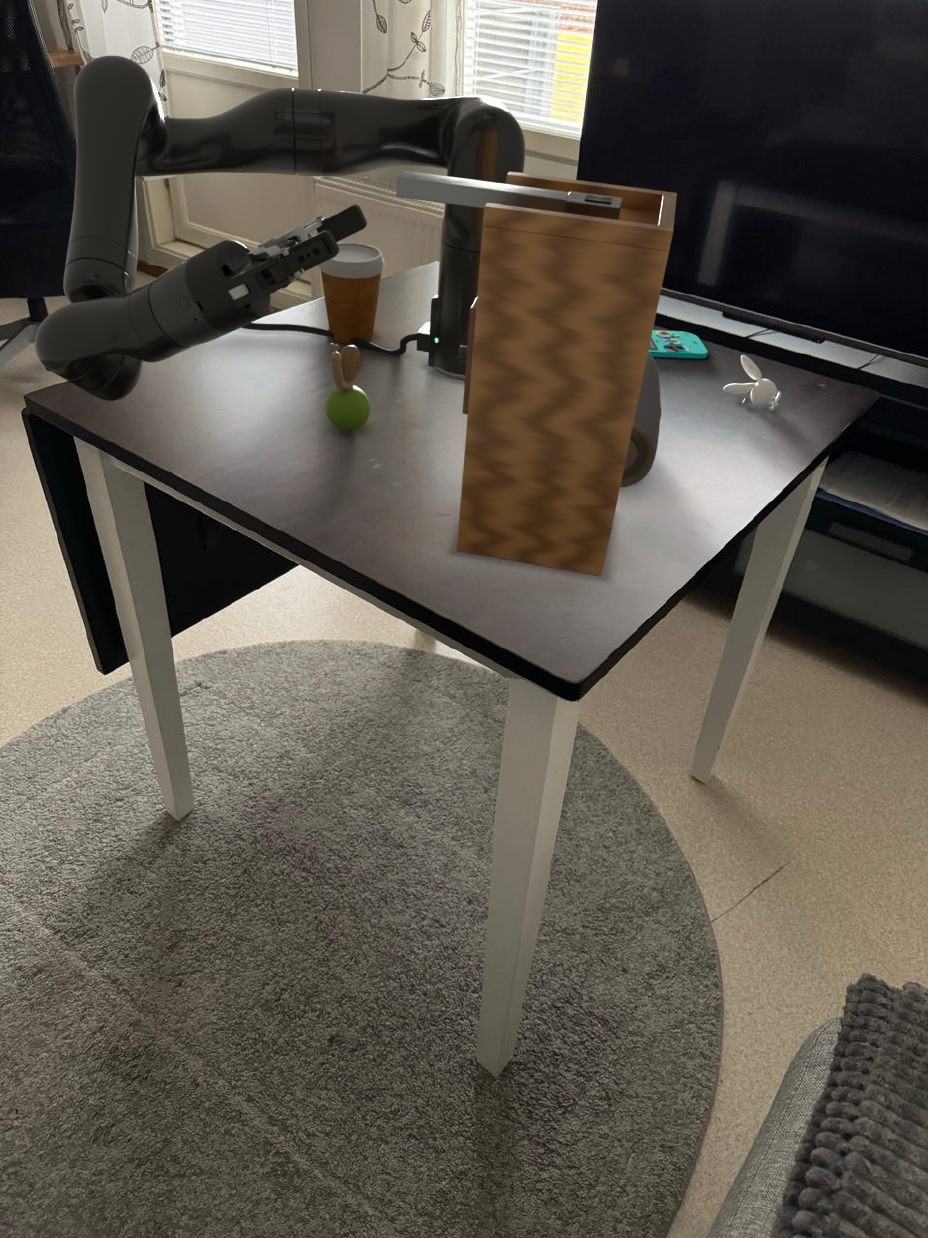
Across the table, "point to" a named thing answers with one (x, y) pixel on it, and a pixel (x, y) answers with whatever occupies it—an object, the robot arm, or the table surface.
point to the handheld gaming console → (676, 345)
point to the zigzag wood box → (557, 371)
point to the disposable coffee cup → (352, 290)
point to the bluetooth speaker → (644, 428)
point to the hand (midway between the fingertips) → (348, 227)
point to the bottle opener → (503, 195)
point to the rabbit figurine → (755, 386)
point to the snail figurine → (346, 391)
